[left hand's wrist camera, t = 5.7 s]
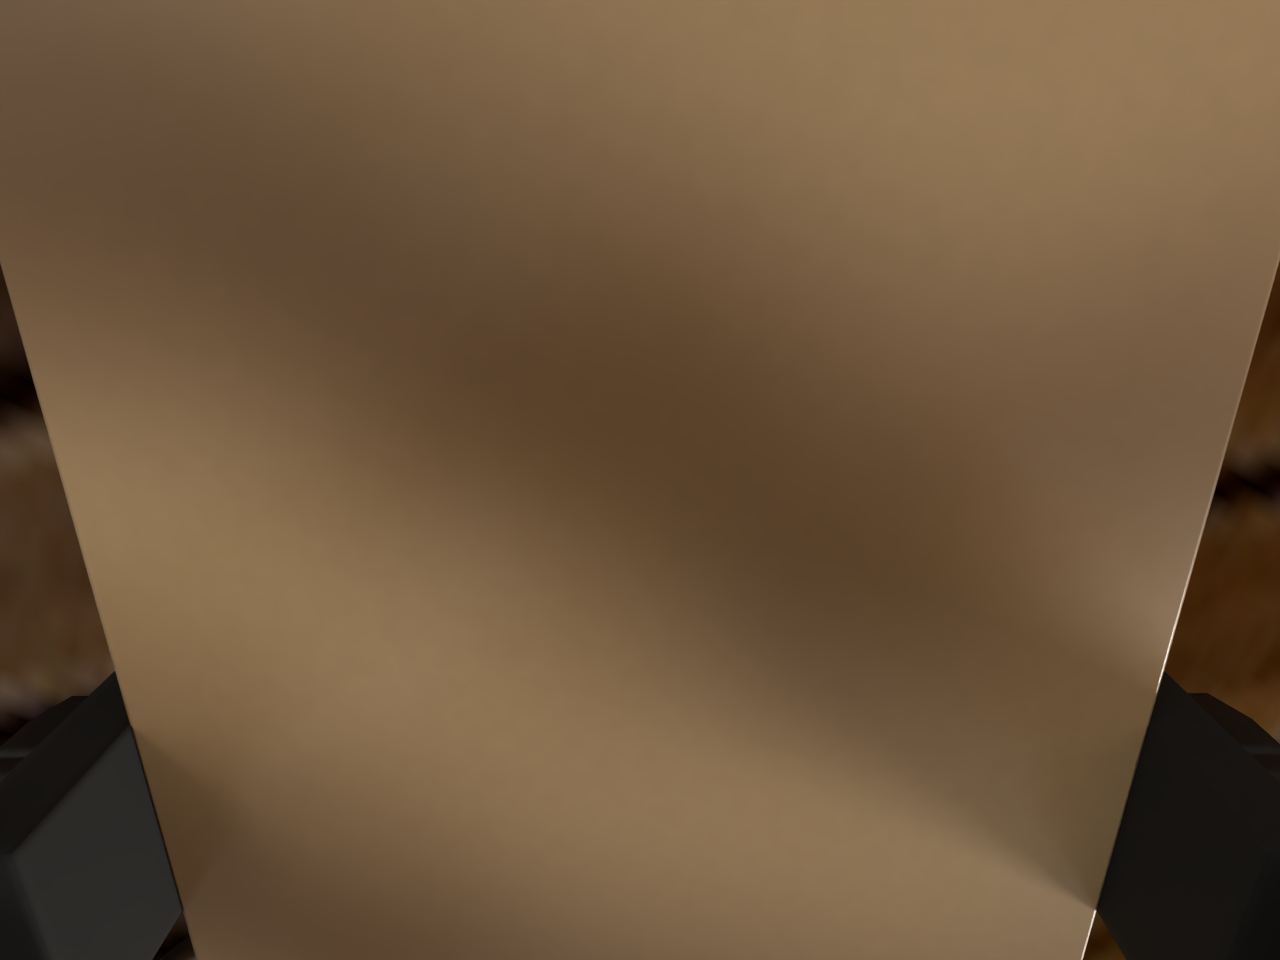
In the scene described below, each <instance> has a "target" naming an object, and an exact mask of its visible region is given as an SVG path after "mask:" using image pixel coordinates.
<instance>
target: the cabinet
mask: <svg viewBox="0 0 1280 960" xmlns="http://www.w3.org/2000/svg"><path fill="white" fill-rule="evenodd" d="M1279 261H1280V0H0V264H1V267H2V271H3V275H4V278H5V282H6V285H7V289H8V292H9V296H10V299H11V303H12V306H13V310H14V314H15V317H16V321H17V324H18V328H19V331H20V335H21V338H22V342H23V346H24V349H25V353H26V356H27V360H28V363H29V367H30V370H31V374H32V377H33V381H34V385H35V388H36V392H37V395H38V399H39V402H40V406H41V409H42V413H43V417H44V420H45V424H46V427H47V431H48V434H49V438H50V441H51V445H52V448H53V452H54V456H55V459H56V463H57V466H58V470H59V473H60V477H61V480H62V484H63V488H64V491H65V495H66V498H67V502H68V505H69V509H70V512H71V516H72V519H73V523H74V527H75V530H76V534H77V537H78V541H79V544H80V548H81V551H82V555H83V559H84V562H85V566H86V569H87V573H88V576H89V580H90V583H91V587H92V590H93V594H94V598H95V601H96V605H97V608H98V612H99V615H100V619H101V622H102V626H103V629H104V633H105V637H106V640H107V644H108V647H109V651H110V654H111V658H112V661H113V665H114V669H115V672H116V676H117V679H118V683H119V686H120V690H121V693H122V697H123V700H124V704H125V708H126V711H127V715H128V718H129V722H130V725H131V729H132V732H133V736H134V740H135V743H136V747H137V750H138V754H139V757H140V761H141V764H142V768H143V771H144V775H145V779H146V782H147V786H148V789H149V793H150V796H151V800H152V803H153V807H154V811H155V814H156V818H157V821H158V825H159V828H160V832H161V835H162V839H163V842H164V846H165V850H166V853H167V857H168V860H169V864H170V867H171V871H172V874H173V878H174V882H175V885H176V889H177V892H178V896H179V899H180V903H181V906H182V910H183V913H184V917H185V921H186V924H187V928H188V931H189V935H190V938H191V942H192V945H193V949H194V953H195V956H196V960H1083V956H1084V953H1085V949H1086V946H1087V942H1088V938H1089V935H1090V931H1091V928H1092V924H1093V921H1094V917H1095V914H1096V910H1097V907H1098V903H1099V899H1100V896H1101V892H1102V889H1103V885H1104V882H1105V878H1106V875H1107V871H1108V867H1109V864H1110V860H1111V857H1112V853H1113V850H1114V846H1115V843H1116V839H1117V836H1118V832H1119V828H1120V825H1121V821H1122V818H1123V814H1124V811H1125V807H1126V804H1127V800H1128V796H1129V793H1130V789H1131V786H1132V782H1133V779H1134V775H1135V772H1136V768H1137V765H1138V761H1139V757H1140V754H1141V750H1142V747H1143V743H1144V740H1145V736H1146V733H1147V729H1148V725H1149V722H1150V718H1151V715H1152V711H1153V708H1154V704H1155V701H1156V697H1157V694H1158V690H1159V686H1160V683H1161V679H1162V676H1163V672H1164V669H1165V665H1166V662H1167V658H1168V655H1169V651H1170V647H1171V644H1172V640H1173V637H1174V633H1175V630H1176V626H1177V623H1178V619H1179V615H1180V612H1181V608H1182V605H1183V601H1184V598H1185V594H1186V591H1187V587H1188V584H1189V580H1190V576H1191V573H1192V569H1193V566H1194V562H1195V559H1196V555H1197V552H1198V548H1199V544H1200V541H1201V537H1202V534H1203V530H1204V527H1205V523H1206V520H1207V516H1208V513H1209V509H1210V505H1211V502H1212V498H1213V495H1214V491H1215V488H1216V484H1217V481H1218V477H1219V473H1220V470H1221V466H1222V463H1223V459H1224V456H1225V452H1226V449H1227V445H1228V442H1229V438H1230V434H1231V431H1232V427H1233V424H1234V420H1235V417H1236V413H1237V410H1238V406H1239V402H1240V399H1241V395H1242V392H1243V388H1244V385H1245V381H1246V378H1247V374H1248V371H1249V367H1250V363H1251V360H1252V356H1253V353H1254V349H1255V346H1256V342H1257V339H1258V335H1259V332H1260V328H1261V324H1262V321H1263V317H1264V314H1265V310H1266V307H1267V303H1268V300H1269V296H1270V292H1271V289H1272V285H1273V282H1274V278H1275V275H1276V271H1277V268H1278V264H1279Z"/></svg>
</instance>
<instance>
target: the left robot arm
mask: <svg viewBox="0 0 1280 960" xmlns="http://www.w3.org/2000/svg"><path fill="white" fill-rule="evenodd" d="M181 912H182V906H181V903H180V899H179V896H178V892H177V889H176V885H175V882H174V878H173V874H172V871H171V867H170V864H169V860H168V857H167V853H166V850H165V846H164V842H163V839H162V835H161V832H160V828H159V825H158V821H157V818H156V814H155V811H154V807H153V803H152V800H151V796H150V793H149V789H148V786H147V782H146V779H145V775H144V771H143V768H142V764H141V761H140V757H139V754H138V750H137V747H136V743H135V740H134V736H133V732H132V729H131V725H130V722H129V718H128V715H127V711H126V708H125V704H124V700H123V697H122V693H121V690H120V686H119V683H118V679H117V676H116V672H115V671H114V672H113V673H112V674H111V675H110V676H109V677H108V678H107V679H106V680H105V681H104V682H103V683H102V684H101V685H100V686H99V687H98V688H97V689H96V690H95V691H94V692H93V693H92V694H91V695H89V696H72V697H70V698H68V699H66V700H65V701H63V702H61V703H60V704H58V705H56V706H54V707H53V708H51V709H49V710H48V711H46V712H44V713H42V714H41V715H39V716H37V717H35V718H34V719H32V720H30V721H29V722H27V723H26V724H25V725H24V726H23V727H22V728H21V729H20V730H19V731H17V732H16V733H15V734H14V735H13V736H12V737H11V738H10V739H9V740H8V741H6V742H5V743H4V744H3V745H2V746H1V747H0V960H152V959H153V958H154V956H155V954H156V953H157V951H158V950H159V948H160V946H161V945H162V943H163V941H164V940H165V938H166V937H167V935H168V933H169V932H170V930H171V928H172V927H173V925H174V923H175V922H176V920H177V919H178V917H179V915H180V914H181ZM1097 912H1098V913H1099V915H1100V917H1101V918H1102V920H1103V922H1104V923H1105V925H1106V926H1107V928H1108V930H1109V931H1110V933H1111V935H1112V936H1113V938H1114V940H1115V941H1116V943H1117V944H1118V946H1119V948H1120V949H1121V951H1122V953H1123V954H1124V956H1125V958H1126V959H1127V960H1280V744H1279V743H1278V742H1277V741H1276V740H1275V739H1273V738H1272V737H1271V736H1270V735H1269V734H1268V733H1267V732H1266V731H1265V730H1263V729H1262V728H1261V727H1260V726H1259V725H1258V724H1257V723H1256V722H1255V721H1254V720H1252V719H1251V718H1249V717H1248V716H1246V715H1244V714H1242V713H1241V712H1239V711H1237V710H1236V709H1234V708H1232V707H1230V706H1229V705H1227V704H1225V703H1223V702H1222V701H1220V700H1218V699H1217V698H1215V697H1213V696H1211V695H1210V694H1208V693H1186V692H1185V691H1184V690H1183V689H1182V688H1181V687H1180V686H1179V685H1178V684H1177V683H1176V682H1175V681H1174V680H1173V679H1172V678H1171V677H1170V676H1169V675H1168V674H1167V673H1166V672H1165V671H1164V672H1163V676H1162V679H1161V683H1160V686H1159V690H1158V694H1157V697H1156V701H1155V704H1154V708H1153V711H1152V715H1151V718H1150V722H1149V725H1148V729H1147V733H1146V736H1145V740H1144V743H1143V747H1142V750H1141V754H1140V757H1139V761H1138V765H1137V768H1136V772H1135V775H1134V779H1133V782H1132V786H1131V789H1130V793H1129V796H1128V800H1127V804H1126V807H1125V811H1124V814H1123V818H1122V821H1121V825H1120V828H1119V832H1118V836H1117V839H1116V843H1115V846H1114V850H1113V853H1112V857H1111V860H1110V864H1109V867H1108V871H1107V875H1106V878H1105V882H1104V885H1103V889H1102V892H1101V896H1100V899H1099V903H1098V907H1097ZM160 960H196V956H195V953H194V949H193V945H192V942H191V938H190V936H189V937H187V938H186V939H184V940H182V941H181V942H180V943H179V944H177V945H176V946H175V947H173V948H172V949H171V950H169V951H168V952H167V953H166V954H165V955H164V956H163V957H162V958H161V959H160Z"/></svg>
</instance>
